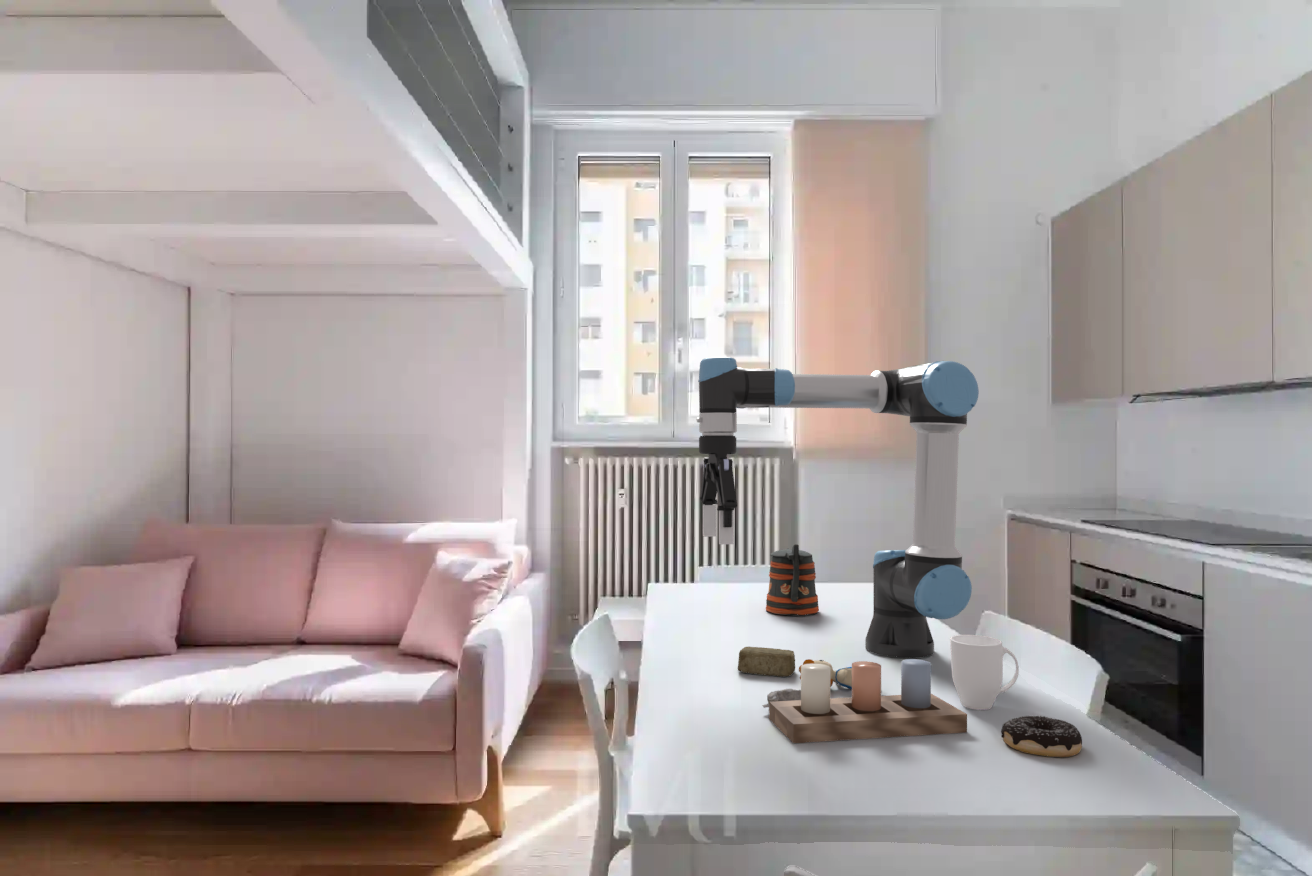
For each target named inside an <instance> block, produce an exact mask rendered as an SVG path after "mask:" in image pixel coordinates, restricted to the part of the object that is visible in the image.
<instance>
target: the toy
mask: <svg viewBox="0 0 1312 876" xmlns="http://www.w3.org/2000/svg"><path fill="white" fill-rule="evenodd" d="M804 664H823V665H827V666H829V667H830V688H831V687H832V686H833V685H834V683H835V684H836V685H838V686H840V687H843V688H846V689H848V690H851V691H852V666H848V667H847V666H846V667H843V668H839V669H837V670H835V669H834V667H833V666H832V664H831V663H830V662H828V661H826V660H824V659H819V660H818V659H817V660H813V659H805V660H804V661H803V662H802V664H801V665H800V666H798V672H799V673H800V676H799V679H800V680H801V666H802V665H804Z"/></svg>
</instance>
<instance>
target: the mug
mask: <svg viewBox="0 0 1312 876" xmlns="http://www.w3.org/2000/svg"><path fill="white" fill-rule="evenodd" d="M949 640H950V662H951V663H950V664H951V677H952V681H953V684H954V685H953V686H954V687H955V690H956V692H957V695H958V698H959V700H960V703H961V705H962V706H963V708H964V707H965V708H966V709H971V710H977V711H984V710H985V711H987V710H990V709H992V707H993V706H994V703H995V700H996V699H997V697H998V695H999V694H1002V693H1005V692H1007V691H1009V690H1010V689H1011V688H1012V687H1013V686H1014V685H1015V684H1016V682H1017V680H1018V677H1019V673H1020V669H1019V662H1018V660H1017V657H1016V655H1015V654H1014V653H1013V652H1012V651H1010V650H1009V649H1008V648H1007V647H1005V646H1003V642H1002V641H1001V640H1000V639H999V638H995V637H991V636H986V635H979V634H958V635H952V636H950V638H949ZM1005 654H1008V655H1009V656H1011V657H1012V659H1013V660H1014V663H1015V671H1014V672H1015V673H1014V675H1013V677H1012V679H1011V680H1009V682H1007V684H1005V685H1004V686H1003V679H1004V678H1003V675H1004V673H1003V671H1004V667H1003V666H1004V662H1003V661H1004V655H1005Z"/></svg>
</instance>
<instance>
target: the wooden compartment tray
mask: <svg viewBox="0 0 1312 876" xmlns="http://www.w3.org/2000/svg"><path fill="white" fill-rule="evenodd" d="M768 712H769V713H768V716H769V721H770V722H771V723H772V724H774V726H775V727H776V728H777V729H778V730H780V732H781V733H783V735H784V736H785V737H786V738H787V739H789V741H791V742H792V744H804V743H819V742H820V743H821V742H832V741H833V742H835V741H836V742H837V741H851V740H868V739H882V738H883V739H885V738H898V737H915V736H928V735H929V736H930V735H945V734H946V735H949V734H960V733H961V734H962V733H968V713H966V712H964V711H962V710H961V709H960V708H958V707H955V706H954V705H953V704H951V703H949V702H947V701H945V700H943V699H941V698H940V697H938V696H936V695H935V694H933V693H931V706H930V707H927V708H912V707H907V706H904V705H903V704H901V694H893V695H891V694H889V695H881V709H880V710H877V711H862V710H858V709H855V708H853V707H852V696H851V697H836V698H835V697H833V698H832V697H831V698H830V712H828V713H825V714H812V713H807V712H804V711H802V710H801V700H794V701H775V702H769V707H768Z"/></svg>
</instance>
